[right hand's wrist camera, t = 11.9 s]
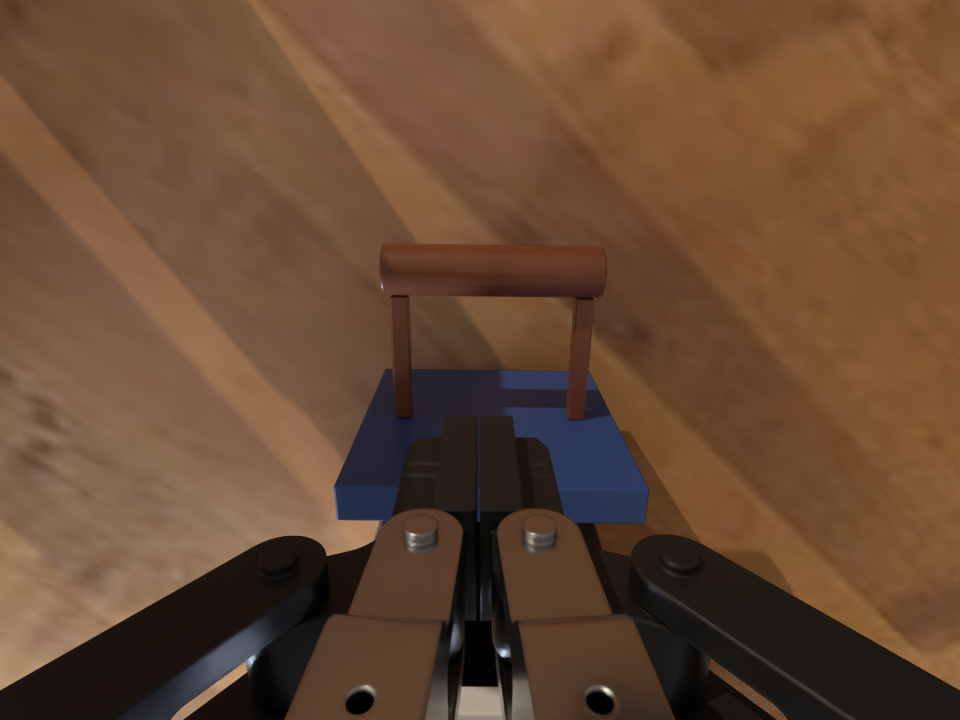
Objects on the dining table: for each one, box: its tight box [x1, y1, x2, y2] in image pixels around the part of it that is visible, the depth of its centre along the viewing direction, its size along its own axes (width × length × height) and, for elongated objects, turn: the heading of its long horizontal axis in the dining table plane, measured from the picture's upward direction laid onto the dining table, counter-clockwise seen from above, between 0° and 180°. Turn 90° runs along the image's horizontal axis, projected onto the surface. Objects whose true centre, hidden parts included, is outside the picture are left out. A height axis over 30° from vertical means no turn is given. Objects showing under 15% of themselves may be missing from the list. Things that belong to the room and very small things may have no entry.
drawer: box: [334, 244, 649, 687], centre depth 21 cm, size 19×9×9 cm, turn 179°
